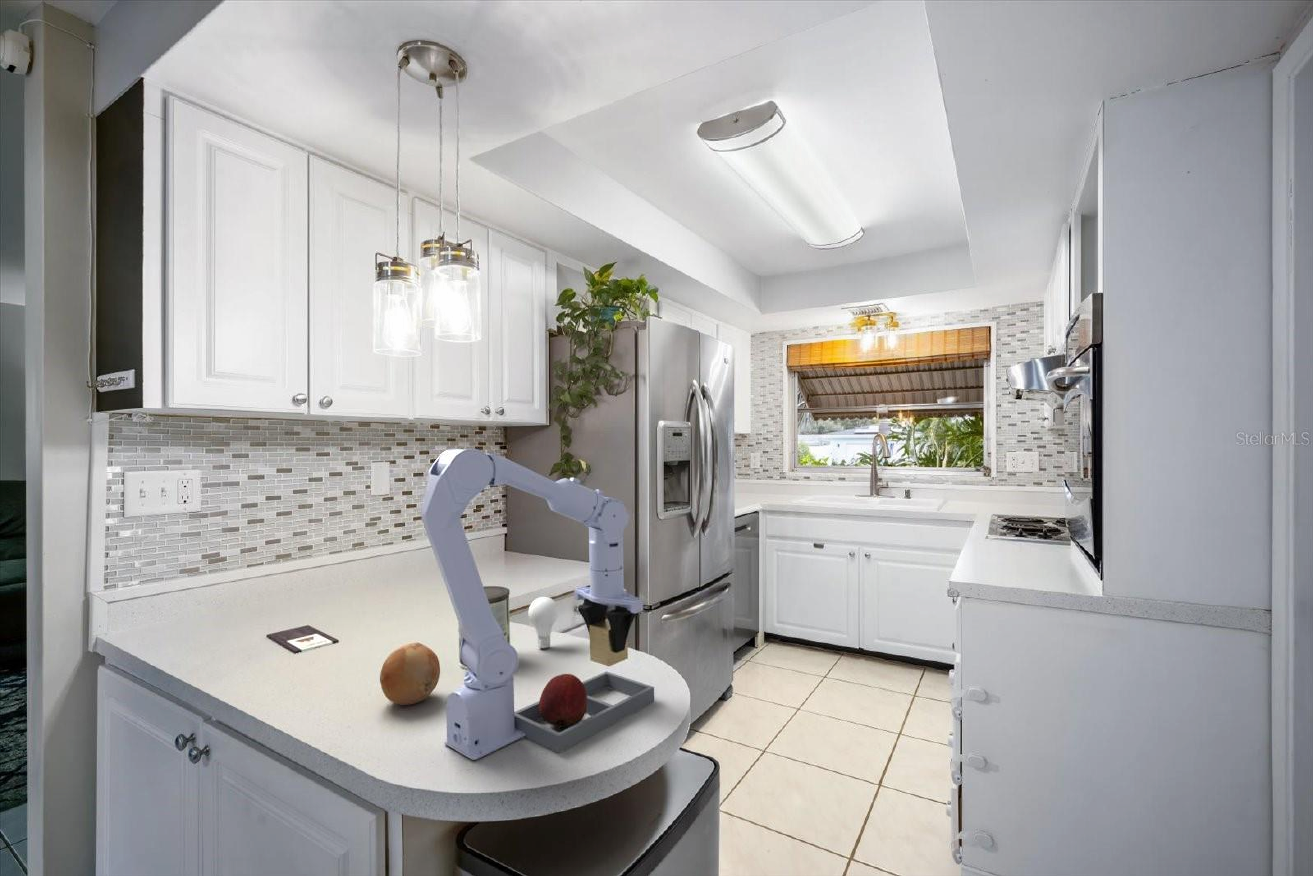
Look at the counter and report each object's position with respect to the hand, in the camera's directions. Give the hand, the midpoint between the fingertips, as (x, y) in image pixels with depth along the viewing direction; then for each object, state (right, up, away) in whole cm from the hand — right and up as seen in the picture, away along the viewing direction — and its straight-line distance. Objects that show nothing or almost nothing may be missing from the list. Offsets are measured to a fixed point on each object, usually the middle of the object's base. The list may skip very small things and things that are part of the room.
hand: (608, 647), depth 103 cm
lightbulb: (-16, -10, +27) cm, 33 cm away
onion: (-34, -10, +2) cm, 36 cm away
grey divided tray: (-3, -10, -4) cm, 11 cm away
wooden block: (0, -2, 0) cm, 2 cm away
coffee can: (-27, -10, +21) cm, 35 cm away
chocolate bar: (-73, -12, +37) cm, 83 cm away
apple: (-6, -10, -8) cm, 14 cm away
